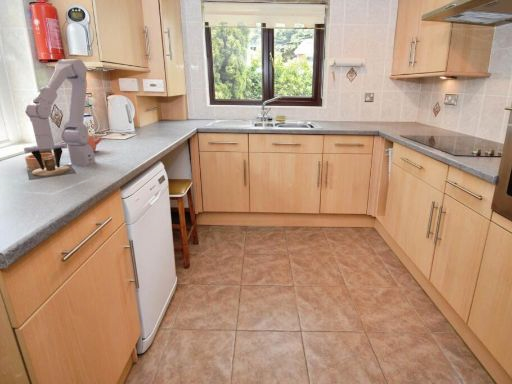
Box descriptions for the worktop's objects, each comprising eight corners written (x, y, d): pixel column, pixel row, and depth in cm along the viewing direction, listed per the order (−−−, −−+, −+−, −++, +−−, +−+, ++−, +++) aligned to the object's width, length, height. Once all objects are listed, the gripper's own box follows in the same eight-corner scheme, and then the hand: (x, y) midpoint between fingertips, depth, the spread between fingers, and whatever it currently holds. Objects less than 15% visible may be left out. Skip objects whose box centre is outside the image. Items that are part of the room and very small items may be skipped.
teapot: (91, 148, 178) (88, 129, 174) (105, 151, 172) (102, 131, 169) (66, 153, 166) (62, 133, 163) (79, 156, 161) (76, 135, 157)
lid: (76, 168, 137) (74, 156, 136) (51, 177, 125) (48, 164, 124) (51, 166, 140) (48, 154, 138) (24, 175, 128) (21, 162, 127)
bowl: (63, 163, 147) (61, 153, 145) (42, 169, 137) (40, 159, 135) (43, 162, 150) (40, 152, 148) (21, 168, 139) (18, 157, 138)
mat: (70, 165, 144) (70, 164, 144) (76, 174, 131) (76, 173, 131) (27, 171, 135) (26, 170, 135) (29, 181, 122) (29, 180, 122)
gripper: (61, 131, 135) (67, 163, 140) (19, 135, 126) (27, 169, 130) (65, 133, 130) (72, 166, 135) (22, 137, 121) (31, 172, 126)
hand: (50, 168), depth 132 cm, fingers open, 5 cm apart
